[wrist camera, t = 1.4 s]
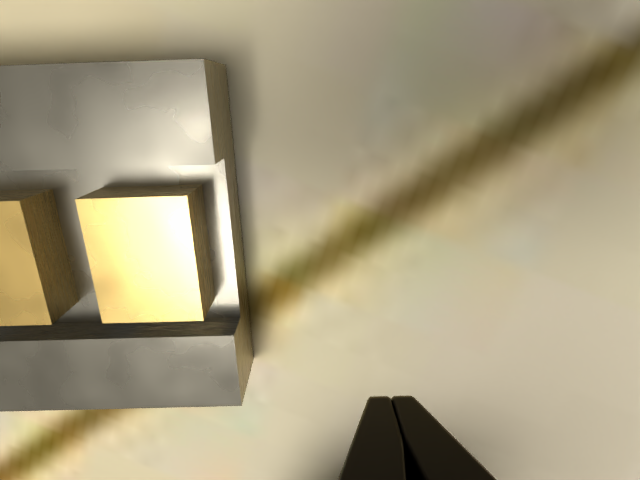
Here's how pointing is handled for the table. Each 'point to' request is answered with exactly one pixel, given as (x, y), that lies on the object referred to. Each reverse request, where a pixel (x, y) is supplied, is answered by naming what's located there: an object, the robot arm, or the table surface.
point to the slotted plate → (69, 184)
